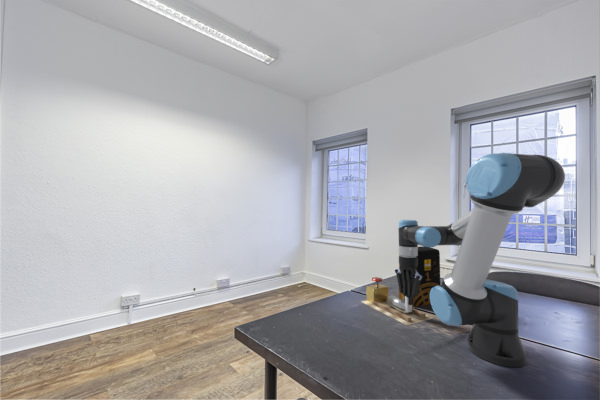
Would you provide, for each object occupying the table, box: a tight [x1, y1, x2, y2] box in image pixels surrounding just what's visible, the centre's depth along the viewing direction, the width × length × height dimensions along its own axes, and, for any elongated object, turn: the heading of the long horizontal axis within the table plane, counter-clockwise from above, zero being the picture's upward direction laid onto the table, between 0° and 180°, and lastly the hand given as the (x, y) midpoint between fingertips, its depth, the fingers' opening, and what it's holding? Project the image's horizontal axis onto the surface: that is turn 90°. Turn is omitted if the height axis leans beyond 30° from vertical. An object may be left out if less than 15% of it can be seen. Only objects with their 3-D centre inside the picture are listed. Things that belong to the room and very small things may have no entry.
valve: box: [365, 276, 389, 303], centre depth 126 cm, size 8×9×11 cm
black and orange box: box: [398, 246, 441, 308], centre depth 125 cm, size 11×19×28 cm, turn 112°
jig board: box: [360, 298, 435, 326], centre depth 115 cm, size 28×16×3 cm, turn 26°
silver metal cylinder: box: [387, 295, 411, 315], centre depth 114 cm, size 10×5×5 cm, turn 26°
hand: (408, 311), depth 108 cm, fingers closed
